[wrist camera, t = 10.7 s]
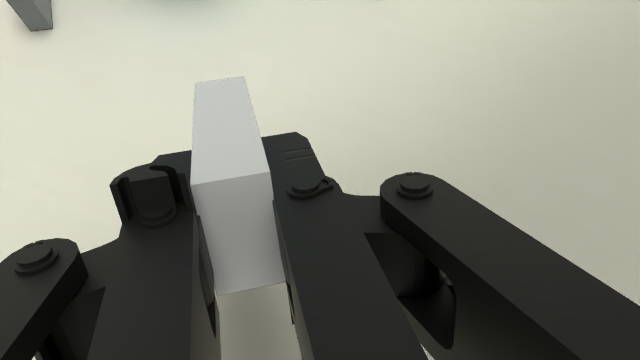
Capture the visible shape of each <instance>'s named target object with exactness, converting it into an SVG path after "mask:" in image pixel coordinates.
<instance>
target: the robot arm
mask: <svg viewBox="0 0 640 360" xmlns="http://www.w3.org/2000/svg"><path fill="white" fill-rule="evenodd" d="M109 186H110V189H111V192H112V195H113V198H114V201H115V204H116V206H117V209H118V212H119V215H120V218H121V221H122V227H121V230H120V234H119V238H117V239H116V240H114V241H112V242H110V243H107V244H105V245H103V246H100V247H98V248H95V249H92V250H89V251H87V252H84V253H81V254H80V251H79V249H78V246H77V244H76V243H75V242H73V241H71V240H69V239H61V238H54V239H48V240H40V241H36V242H35V243H31V244H28V245H26V246H24V247H23V248H21V249H19V250H18V251H16V252H14V253H12V254H11V255H9V256H8V257H7V258H6V259H4V260H3V261H2V262H1V263H0V360H32V358H33V357H35V358H36V360H221V345H220V323H219V311H218V307H217V303H216V299H215V294H214V285H215V289H216V293H217V296H219V295H224V294H229V293H234V292H239V291H244V290H249V289H254V288H258V287H263V286H268V285H273V284H278V283H283V282H286V285H287V291H288V298H289V305H290V311H291V318H292V325H293V324H294V325H295V329H296V333H297V338H298V342H299V347H300V351H301V356H302V360H428V358H427V356H426V354H425V352H424V350H423V348H422V346H423V347H424V348H425V349H426V350H427V351H428V352H429V354H430V355H431V356H432V357H433V358H434V359H435V360H640V306H639V305H637V304H636V303H634V302H633V301H631V300H629V299H628V298H626V297H625V296H623V295H622V294H620V293H619V292H617V291H615V290H614V289H612V288H611V287H609V286H608V285H606V284H605V283H603V282H601V281H600V280H598V279H597V278H595V277H594V276H592V275H590V274H589V273H587V272H586V271H584V270H583V269H581V268H580V267H578V266H576V265H575V264H573V263H572V262H570V261H569V260H567V259H565V258H564V257H562V256H561V255H559V254H558V253H556V252H555V251H553V250H551V249H550V248H548V247H547V246H545V245H544V244H542V243H540V242H539V241H537V240H536V239H534V238H533V237H531V236H530V235H528V234H526V233H525V232H523V231H522V230H520V229H519V228H517V227H516V226H514V225H512V224H511V223H509V222H508V221H506V220H505V219H503V218H501V217H500V216H498V215H497V214H495V213H494V212H492V211H491V210H489V209H487V208H486V207H484V206H483V205H481V204H480V203H478V202H476V201H475V200H473V199H472V198H470V197H469V196H467V195H466V194H464V193H462V192H461V191H459V190H458V189H456V188H455V187H453V186H452V185H450V184H448V183H447V182H445V181H444V180H442V179H440V178H437V177H435V176H433V175H428V174H423V173H420V172H414V173H412V172H409V173H404V174H400V175H395V176H393V177H391V178H389V179H387V180H385V181H384V182H383V184H382V185H381V186H380V196H358V195H350V194H346V193H343V192H342V190H341V188H340V186H339V184H338V183H337V182H336V181H335V180H334V179H332V178H330V177H327V176H325V174H324V172H323V170H322V168H321V166H320V164H319V162H318V160H317V158H316V156H315V153H314V151H313V149H312V148H311V145H310V143H309V141H308V139H307V138H306V137H304V136H302V135H300V134H299V133H297V132H292V133H286V134H280V135H273V136H267V137H261V136H260V133H259V129H258V125H257V122H256V118H255V114H254V111H253V107H252V103H251V99H250V96H249V92H248V88H247V85H246V81H245V77H244V76H242V77H235V78H227V79H220V80H213V81H206V82H199V83H195V91H194V113H193V135H192V150H189V151H183V152H177V153H171V154H164V155H159V156H158V157H157V158H156V159H155V160H154V161H153V162H152V163H149V164H145V165H141V166H137V167H135V168H132V169H130V170H127V171H125V172H123V173H122V174H120V175H119V176H117V177H116V178H114V180H113V181H112V182H111V184H110V185H109ZM420 343H421V344H422V346H421V344H420Z"/></svg>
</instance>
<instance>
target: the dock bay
mask: <svg viewBox="0 0 640 360" xmlns="http://www.w3.org/2000/svg"><path fill="white" fill-rule="evenodd" d="M6 1H7V2H8V3H9V4H10V6H11V7H12V8H13V9H14V11H15V12H16V13H17V14H18V16H19V17H20V18H21V19H22V21H23V22H24V23H25V24H26V26H27V27H28V28H29V29H30V31H35V30H44V29H52V28H53V26H52V13H51V0H6Z"/></svg>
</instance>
